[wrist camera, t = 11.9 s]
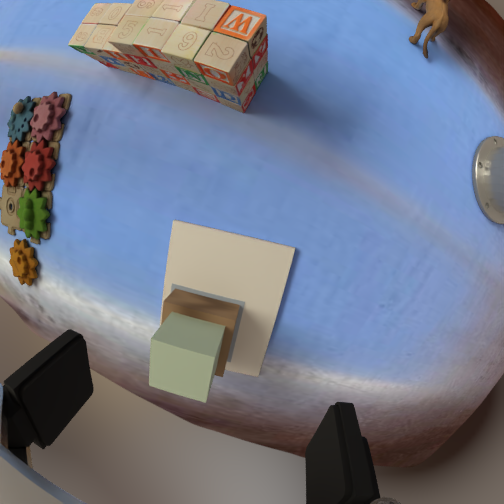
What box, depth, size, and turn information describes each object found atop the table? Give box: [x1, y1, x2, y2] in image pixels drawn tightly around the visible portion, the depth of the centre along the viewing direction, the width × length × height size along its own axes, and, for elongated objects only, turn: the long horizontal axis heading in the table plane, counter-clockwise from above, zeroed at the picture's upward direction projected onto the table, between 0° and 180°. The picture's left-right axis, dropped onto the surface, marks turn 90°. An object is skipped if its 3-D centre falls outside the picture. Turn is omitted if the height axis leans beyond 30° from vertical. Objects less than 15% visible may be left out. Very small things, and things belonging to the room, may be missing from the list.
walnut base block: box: [161, 288, 240, 377], centre depth 32 cm, size 8×8×4 cm
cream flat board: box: [160, 220, 295, 377], centre depth 33 cm, size 14×18×1 cm
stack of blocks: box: [68, 0, 268, 113], centre depth 21 cm, size 21×6×12 cm, turn 63°
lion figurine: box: [409, 0, 450, 58], centre depth 18 cm, size 15×5×9 cm, turn 172°
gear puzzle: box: [0, 92, 71, 286], centre depth 31 cm, size 31×16×4 cm, turn 168°
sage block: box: [149, 312, 225, 402], centre depth 27 cm, size 6×6×6 cm
